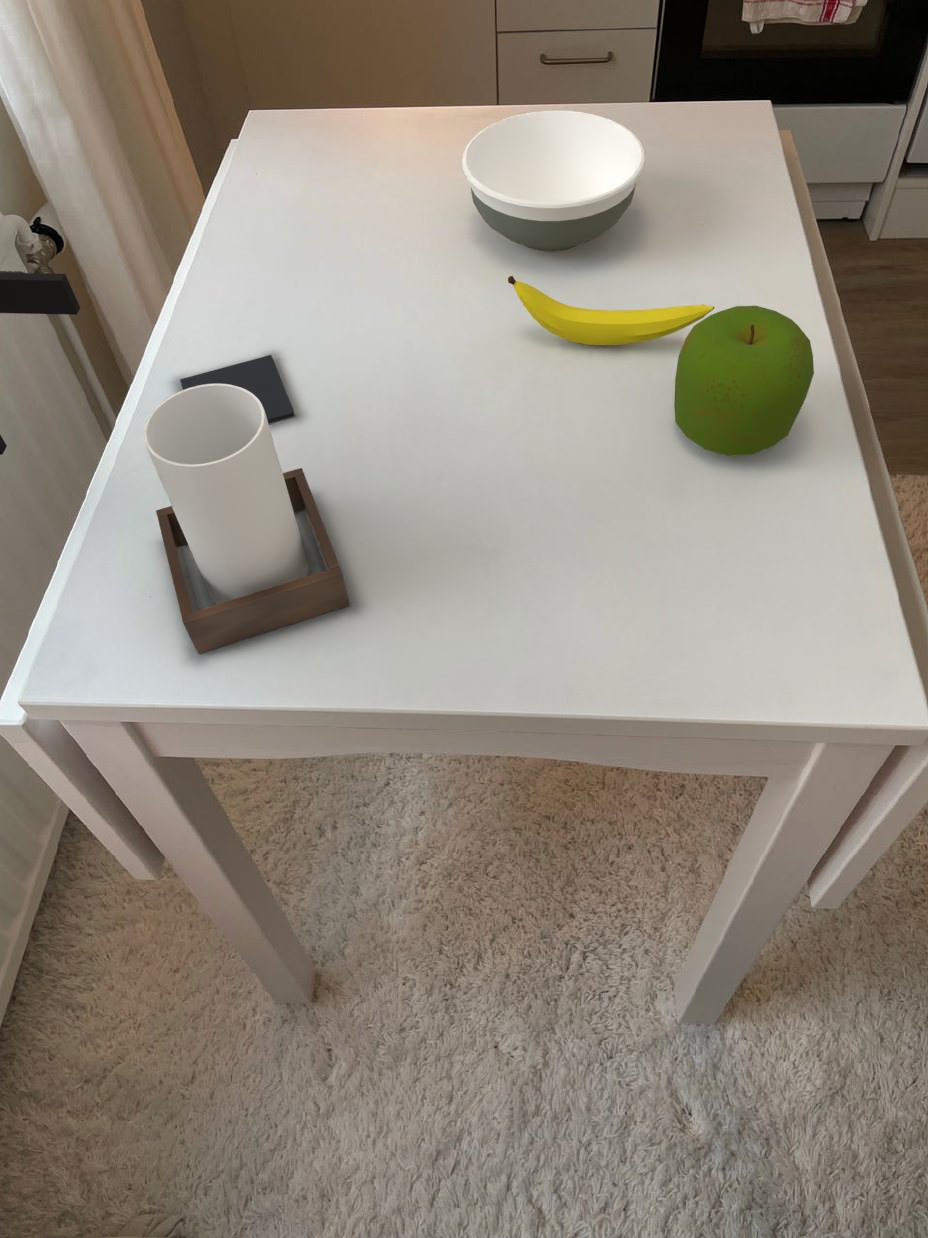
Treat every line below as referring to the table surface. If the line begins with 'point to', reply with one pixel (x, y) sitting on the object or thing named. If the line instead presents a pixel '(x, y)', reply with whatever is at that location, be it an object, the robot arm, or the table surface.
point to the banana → (605, 319)
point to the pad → (251, 384)
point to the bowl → (553, 176)
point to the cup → (226, 489)
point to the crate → (263, 606)
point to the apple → (742, 380)
